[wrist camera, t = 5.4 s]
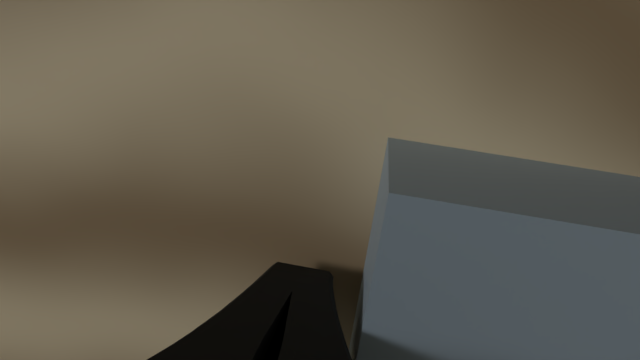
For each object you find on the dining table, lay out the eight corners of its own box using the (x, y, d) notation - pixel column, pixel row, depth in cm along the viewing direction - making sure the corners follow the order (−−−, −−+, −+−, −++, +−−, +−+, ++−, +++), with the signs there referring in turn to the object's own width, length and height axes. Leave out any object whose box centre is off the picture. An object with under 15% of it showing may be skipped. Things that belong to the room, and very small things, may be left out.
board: (660, 584, 14) (682, 633, 13) (-9, 433, 16) (-38, 465, 15) (1073, -73, 8) (1185, -86, 7) (-116, -208, 10) (-181, -236, 9)
